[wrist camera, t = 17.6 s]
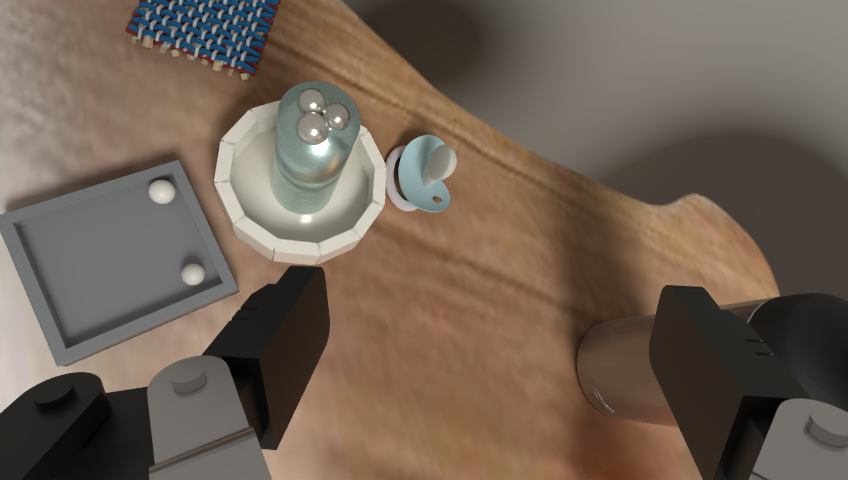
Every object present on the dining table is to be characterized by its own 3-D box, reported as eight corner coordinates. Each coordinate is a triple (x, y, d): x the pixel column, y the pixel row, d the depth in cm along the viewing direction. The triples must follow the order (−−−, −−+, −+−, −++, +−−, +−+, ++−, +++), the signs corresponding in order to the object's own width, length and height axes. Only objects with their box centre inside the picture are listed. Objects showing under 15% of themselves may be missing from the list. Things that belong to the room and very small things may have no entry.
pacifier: (382, 216, 44) (445, 220, 45) (398, 192, 38) (470, 198, 40) (382, 141, 46) (442, 147, 47) (397, 108, 40) (466, 116, 41)
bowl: (337, 102, 45) (344, 81, 42) (400, 228, 44) (411, 216, 40) (193, 146, 40) (187, 126, 37) (260, 289, 39) (260, 282, 35)
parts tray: (182, 168, 39) (177, 155, 37) (239, 291, 38) (237, 286, 36) (6, 223, 34) (-12, 213, 32) (66, 366, 33) (52, 365, 31)
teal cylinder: (318, 150, 42) (342, 62, 30) (342, 202, 42) (378, 133, 30) (261, 169, 40) (263, 83, 28) (287, 223, 40) (300, 159, 28)
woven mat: (166, -50, 44) (162, -68, 42) (285, -4, 46) (286, -20, 44) (123, 45, 41) (117, 29, 39) (253, 88, 43) (253, 75, 41)
